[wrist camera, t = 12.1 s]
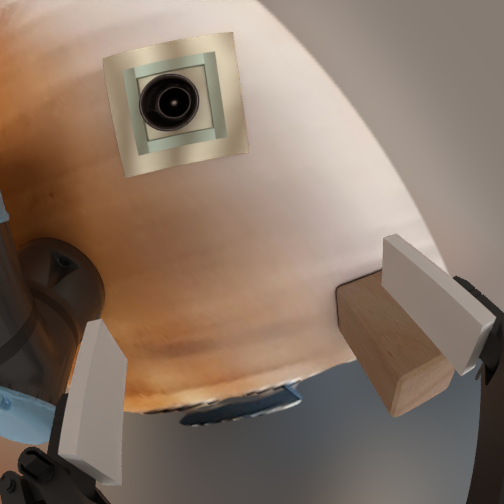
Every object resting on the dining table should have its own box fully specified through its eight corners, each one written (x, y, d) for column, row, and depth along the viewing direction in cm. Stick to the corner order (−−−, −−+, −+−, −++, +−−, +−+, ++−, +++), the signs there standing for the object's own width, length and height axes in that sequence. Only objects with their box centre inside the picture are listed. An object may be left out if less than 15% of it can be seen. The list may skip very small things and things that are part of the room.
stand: (127, 176, 32) (123, 181, 30) (104, 59, 25) (98, 56, 23) (247, 151, 34) (252, 154, 32) (231, 33, 27) (234, 29, 25)
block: (333, 286, 46) (402, 384, 28) (388, 265, 46) (467, 346, 29) (337, 330, 51) (392, 422, 33) (386, 310, 51) (449, 389, 34)
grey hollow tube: (150, 121, 29) (134, 129, 20) (156, 80, 27) (143, 71, 18) (192, 125, 30) (194, 134, 21) (199, 84, 28) (204, 76, 19)
